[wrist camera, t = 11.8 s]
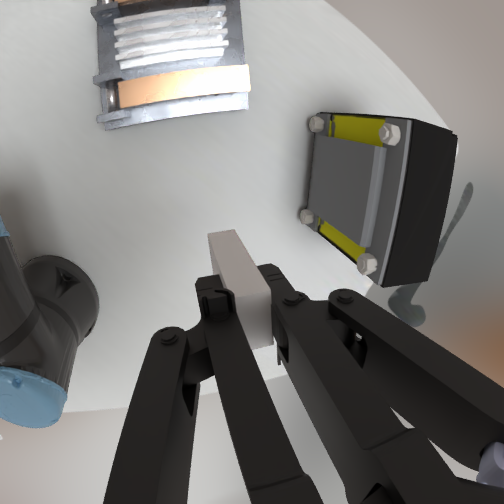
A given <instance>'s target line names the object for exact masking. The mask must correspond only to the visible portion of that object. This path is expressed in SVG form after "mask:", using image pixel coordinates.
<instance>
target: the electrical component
mask: <svg viewBox="0 0 504 504" xmlns="http://www.w3.org/2000/svg"><path fill="white" fill-rule="evenodd" d="M309 128H310V130H311V131H312V132H315V140H314V150H313V160H312V170H311V179H310V188H309V197H308V206H307V209H304V210H302V211H301V213H300V221H301V223H302V224H306V225H307V226H309V227H310V228H311V229H312V230H313V231H315V232H318V233H319V234H320V235H321V236H322V237H324V238H325V239H326V240H327V241H328V242H330V243H331V244H332V245H333V246H335V247H336V248H337V249H338V250H339V251H341V252H342V253H343V254H344V255H345V256H346V257H348V258H349V259H350V260H351V261H352V262H354V263H355V264H356V265H357V269H358V271H359V272H360V273H361V274H362V275H367V276H368V277H369V278H370V279H371V280H372V281H373V282H375V283H376V284H377V285H380V286H381V287H383V288H384V287H392V286H399V285H405V284H412V283H418V282H425V281H428V278H429V275H430V272H431V268H432V265H433V261H434V258H435V254H436V250H437V247H438V243H439V238H440V235H441V230H442V226H443V222H444V218H445V213H446V208H447V204H448V198H449V193H450V188H451V182H452V176H453V170H454V163H455V156H456V148H457V139H458V138H457V135H455V134H452V132H453V131H451V130H448V129H445V128H442V127H439V126H436V125H433V124H430V123H427V122H423V121H420V120H417V119H412V118H403V117H394V116H383V115H370V114H353V113H327V112H320V113H317V117H315V116H313V117H312V118H311V119H310V122H309Z"/></svg>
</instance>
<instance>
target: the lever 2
mask: <svg viewBox="0 0 504 504" xmlns="http://www.w3.org/2000/svg"><path fill="white" fill-rule="evenodd" d="M118 88H119V98H120V108H121V109H124V108H128V107H133V106H138V105H143V104H149V103H154V102H160V101H166V100H173V99H179V98H186V97H194V96H202V95H211V94H221V93H232V92H246V91H250V80H249V68H248V65H235V66H222V67H210V68H201V69H192V70H184V71H177V72H170V73H164V74H158V75H152V76H146V77H141V78H136V79H131V80H127V81H122V82H118Z"/></svg>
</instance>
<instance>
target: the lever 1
mask: <svg viewBox="0 0 504 504" xmlns="http://www.w3.org/2000/svg"><path fill="white" fill-rule="evenodd" d="M115 1H118V3H119V5H120V6H123V5H127V4H132V3H137V2H142V1H147V0H115Z"/></svg>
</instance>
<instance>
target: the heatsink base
mask: <svg viewBox="0 0 504 504" xmlns="http://www.w3.org/2000/svg"><path fill="white" fill-rule="evenodd" d="M91 14H92V16H93V17H94V18H95V20H96V21H97V36H98V60H99V75H97V76H93V84H95V85H97V86H100V88H101V98H102V108H103V114H102V115H98V116H97V123H104V125H105V130H110V129H115V128H119V127H124V126H129V125H134V124H139V123H144V122H150V121H155V120H161V119H167V118H174V117H180V116H187V115H195V114H203V113H211V112H220V111H231V110H242V109H249V105H248V92H247V91H246V92H232V93H221V94H211V95H202V96H194V97H186V98H179V99H173V100H166V101H160V102H154V103H149V104H143V105H138V106H133V107H128V108H124V109H121V108H120V98H119V88H118V82H122V81H127V80H131V79H136V78H141V77H146V76H152V75H158V74H164V73H170V72H177V71H184V70H192V69H201V68H210V67H222V66H235V65H245V57H244V45H243V34H242V22H241V11H240V0H147V1H142V2H137V3H132V4H127V5H123V6H120V5H119V3H118V1H115V0H97V6H94V7H91Z"/></svg>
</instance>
